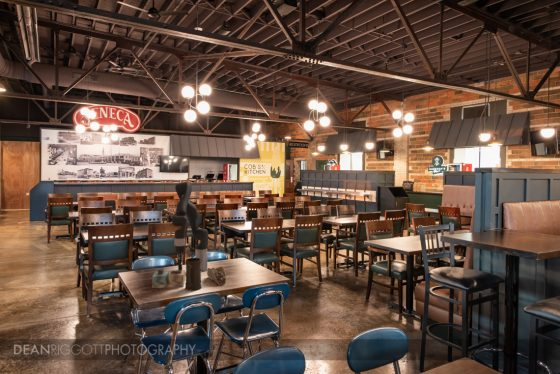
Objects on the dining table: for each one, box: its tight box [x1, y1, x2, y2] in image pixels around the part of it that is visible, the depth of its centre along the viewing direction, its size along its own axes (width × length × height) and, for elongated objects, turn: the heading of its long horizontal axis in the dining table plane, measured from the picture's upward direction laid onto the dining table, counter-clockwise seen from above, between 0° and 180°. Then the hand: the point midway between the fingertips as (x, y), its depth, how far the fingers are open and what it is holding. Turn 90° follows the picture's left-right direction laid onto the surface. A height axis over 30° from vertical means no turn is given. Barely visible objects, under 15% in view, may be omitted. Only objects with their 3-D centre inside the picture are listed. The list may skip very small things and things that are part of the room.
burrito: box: [206, 266, 227, 287], centre depth 265 cm, size 10×27×10 cm, turn 28°
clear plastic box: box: [151, 267, 186, 289], centre depth 255 cm, size 20×14×11 cm
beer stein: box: [184, 257, 202, 292], centre depth 244 cm, size 15×11×20 cm
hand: (180, 269), depth 257 cm, fingers closed on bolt, 3 cm apart
